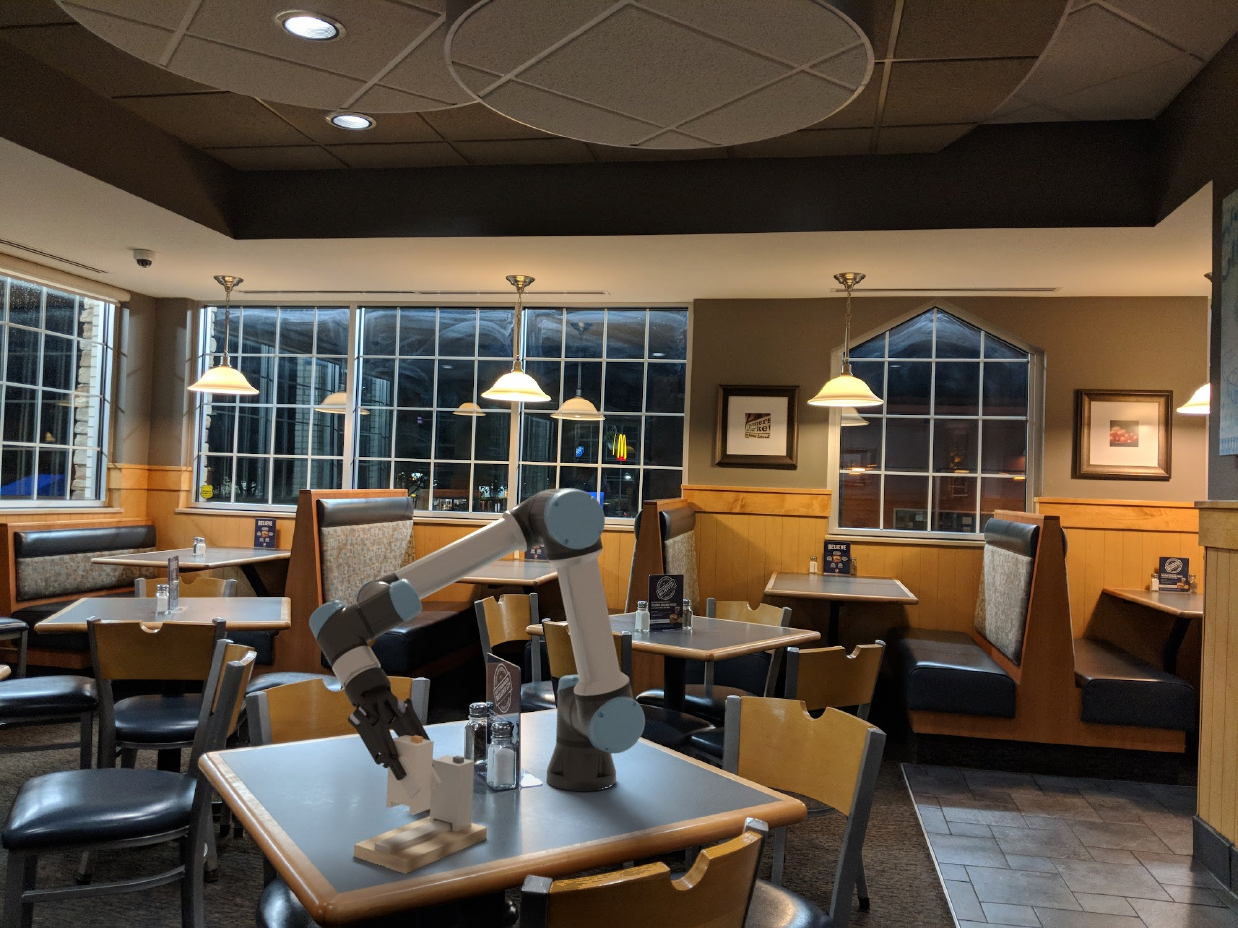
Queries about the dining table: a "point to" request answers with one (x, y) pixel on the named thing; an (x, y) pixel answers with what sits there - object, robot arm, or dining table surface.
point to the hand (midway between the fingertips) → (425, 789)
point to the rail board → (417, 844)
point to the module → (420, 763)
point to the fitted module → (453, 791)
